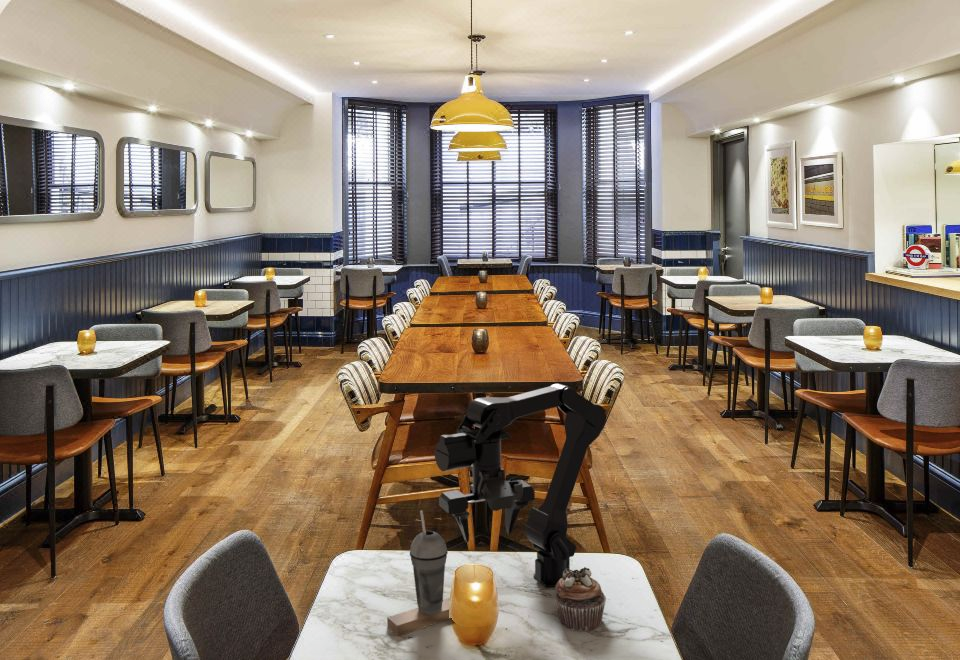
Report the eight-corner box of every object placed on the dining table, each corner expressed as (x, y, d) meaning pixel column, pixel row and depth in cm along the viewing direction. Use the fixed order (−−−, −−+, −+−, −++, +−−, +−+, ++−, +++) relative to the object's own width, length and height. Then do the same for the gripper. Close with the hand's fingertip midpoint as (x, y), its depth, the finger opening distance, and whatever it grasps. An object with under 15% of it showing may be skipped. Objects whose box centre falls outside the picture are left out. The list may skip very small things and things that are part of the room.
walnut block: (459, 604, 167) (458, 594, 167) (469, 612, 164) (469, 602, 163) (387, 627, 158) (387, 617, 158) (397, 635, 155) (397, 625, 155)
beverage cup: (452, 615, 158) (450, 514, 156) (414, 620, 156) (412, 518, 154) (444, 598, 165) (442, 501, 162) (408, 603, 163) (405, 505, 161)
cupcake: (564, 636, 154) (563, 584, 153) (549, 611, 163) (549, 563, 162) (613, 630, 156) (613, 579, 154) (596, 606, 165) (596, 558, 164)
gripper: (458, 480, 154) (460, 560, 156) (547, 466, 162) (548, 543, 164) (437, 464, 164) (439, 540, 167) (521, 452, 172) (522, 524, 174)
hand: (487, 537), depth 168 cm, fingers open, 9 cm apart
